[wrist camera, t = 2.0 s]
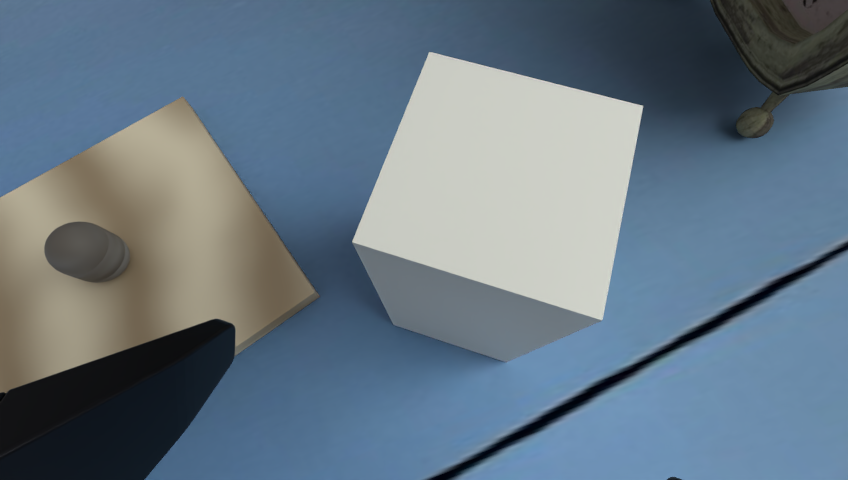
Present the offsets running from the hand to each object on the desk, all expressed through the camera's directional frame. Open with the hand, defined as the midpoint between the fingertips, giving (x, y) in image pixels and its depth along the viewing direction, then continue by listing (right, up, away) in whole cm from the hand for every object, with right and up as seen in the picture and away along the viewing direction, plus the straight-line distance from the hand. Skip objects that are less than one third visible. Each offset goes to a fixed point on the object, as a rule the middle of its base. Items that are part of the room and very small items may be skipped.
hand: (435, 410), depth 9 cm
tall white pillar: (+2, +1, +13) cm, 13 cm away
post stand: (-15, +2, +13) cm, 20 cm away
